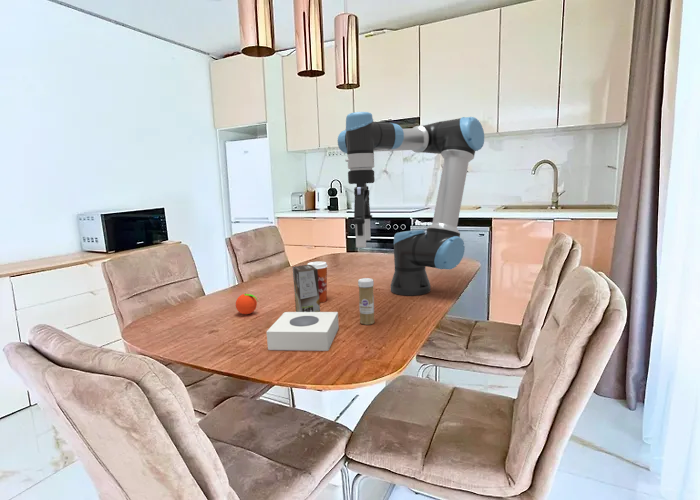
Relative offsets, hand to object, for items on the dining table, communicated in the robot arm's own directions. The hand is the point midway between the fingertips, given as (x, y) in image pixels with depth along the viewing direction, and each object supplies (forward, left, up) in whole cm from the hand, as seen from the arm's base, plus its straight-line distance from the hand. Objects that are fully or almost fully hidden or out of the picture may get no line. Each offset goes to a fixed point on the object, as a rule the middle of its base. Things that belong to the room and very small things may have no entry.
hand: (363, 243), depth 119 cm
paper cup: (+20, -23, -24) cm, 39 cm away
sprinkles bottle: (0, 0, -24) cm, 24 cm away
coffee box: (+20, -6, -25) cm, 32 cm away
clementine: (+41, -8, -25) cm, 48 cm away
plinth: (+16, +13, -24) cm, 32 cm away
